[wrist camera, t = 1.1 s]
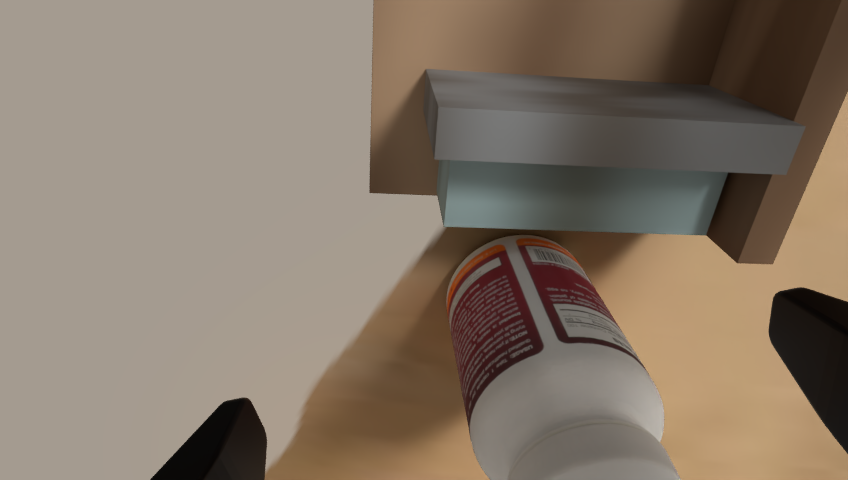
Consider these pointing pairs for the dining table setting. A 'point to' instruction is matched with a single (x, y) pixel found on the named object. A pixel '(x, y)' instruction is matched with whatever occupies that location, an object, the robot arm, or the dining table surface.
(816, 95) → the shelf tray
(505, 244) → the pill bottle
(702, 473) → the dining table surface
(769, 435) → the dining table surface
